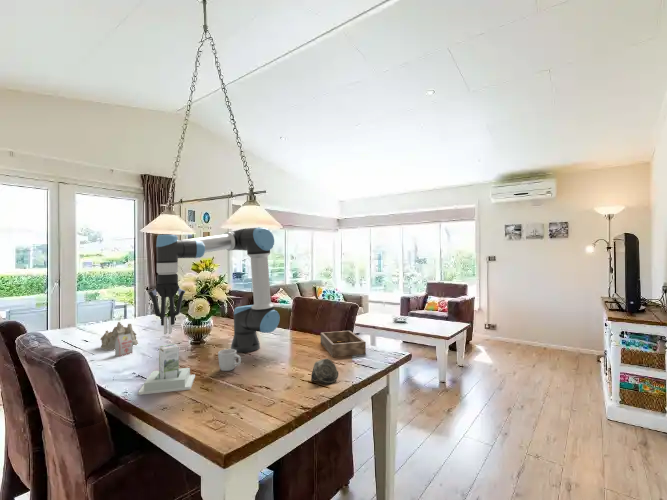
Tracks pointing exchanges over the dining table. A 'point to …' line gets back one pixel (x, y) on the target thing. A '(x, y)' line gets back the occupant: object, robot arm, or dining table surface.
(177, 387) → the white tray
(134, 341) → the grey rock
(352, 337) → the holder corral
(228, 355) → the cup
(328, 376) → the fossil
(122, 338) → the tea bag
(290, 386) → the dining table surface
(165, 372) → the syrup box
